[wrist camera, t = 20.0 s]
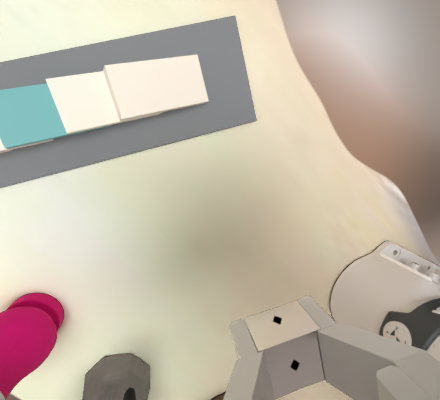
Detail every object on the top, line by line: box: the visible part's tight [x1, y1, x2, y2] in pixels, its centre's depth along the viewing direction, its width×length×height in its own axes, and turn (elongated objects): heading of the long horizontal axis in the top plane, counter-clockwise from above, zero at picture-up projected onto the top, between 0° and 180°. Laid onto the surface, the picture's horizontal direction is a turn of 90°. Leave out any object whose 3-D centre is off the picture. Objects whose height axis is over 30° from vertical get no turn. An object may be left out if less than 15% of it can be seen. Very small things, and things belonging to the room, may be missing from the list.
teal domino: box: [0, 83, 112, 149], centre depth 27 cm, size 2×5×10 cm
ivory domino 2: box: [103, 55, 209, 121], centre depth 29 cm, size 2×5×10 cm
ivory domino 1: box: [46, 71, 163, 135], centre depth 28 cm, size 2×5×10 cm
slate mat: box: [0, 16, 257, 188], centre depth 30 cm, size 32×12×1 cm, turn 104°
